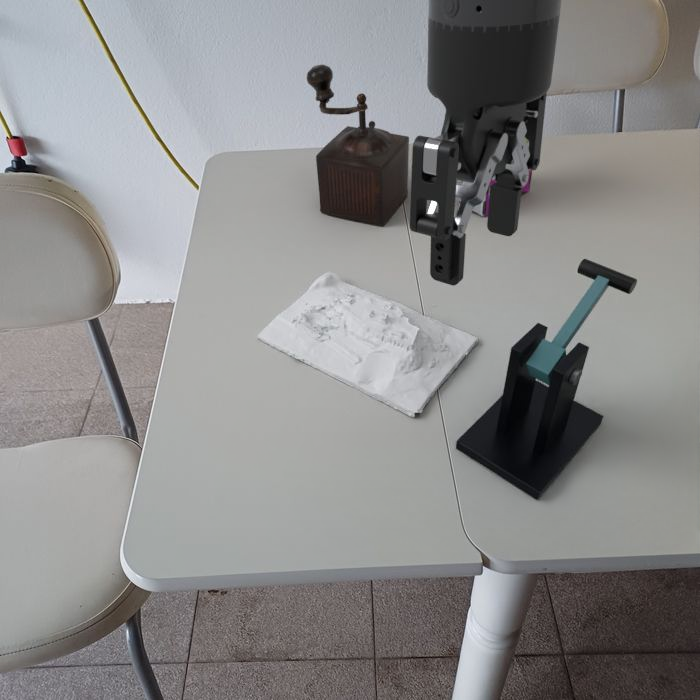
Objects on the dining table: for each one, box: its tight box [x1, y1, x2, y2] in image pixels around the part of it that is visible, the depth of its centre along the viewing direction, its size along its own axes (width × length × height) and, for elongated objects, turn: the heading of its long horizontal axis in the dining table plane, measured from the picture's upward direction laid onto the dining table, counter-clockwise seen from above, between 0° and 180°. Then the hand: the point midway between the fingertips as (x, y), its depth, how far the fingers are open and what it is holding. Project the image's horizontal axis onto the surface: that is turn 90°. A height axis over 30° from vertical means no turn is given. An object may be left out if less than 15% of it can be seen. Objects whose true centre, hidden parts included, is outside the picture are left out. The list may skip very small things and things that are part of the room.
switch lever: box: [526, 258, 638, 386], centre depth 57 cm, size 12×5×2 cm, turn 137°
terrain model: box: [257, 271, 479, 418], centre depth 73 cm, size 17×23×5 cm
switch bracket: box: [455, 322, 604, 501], centre depth 59 cm, size 12×9×12 cm
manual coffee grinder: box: [306, 64, 410, 227], centre depth 92 cm, size 16×11×18 cm
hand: (475, 255), depth 47 cm, fingers open, 8 cm apart
